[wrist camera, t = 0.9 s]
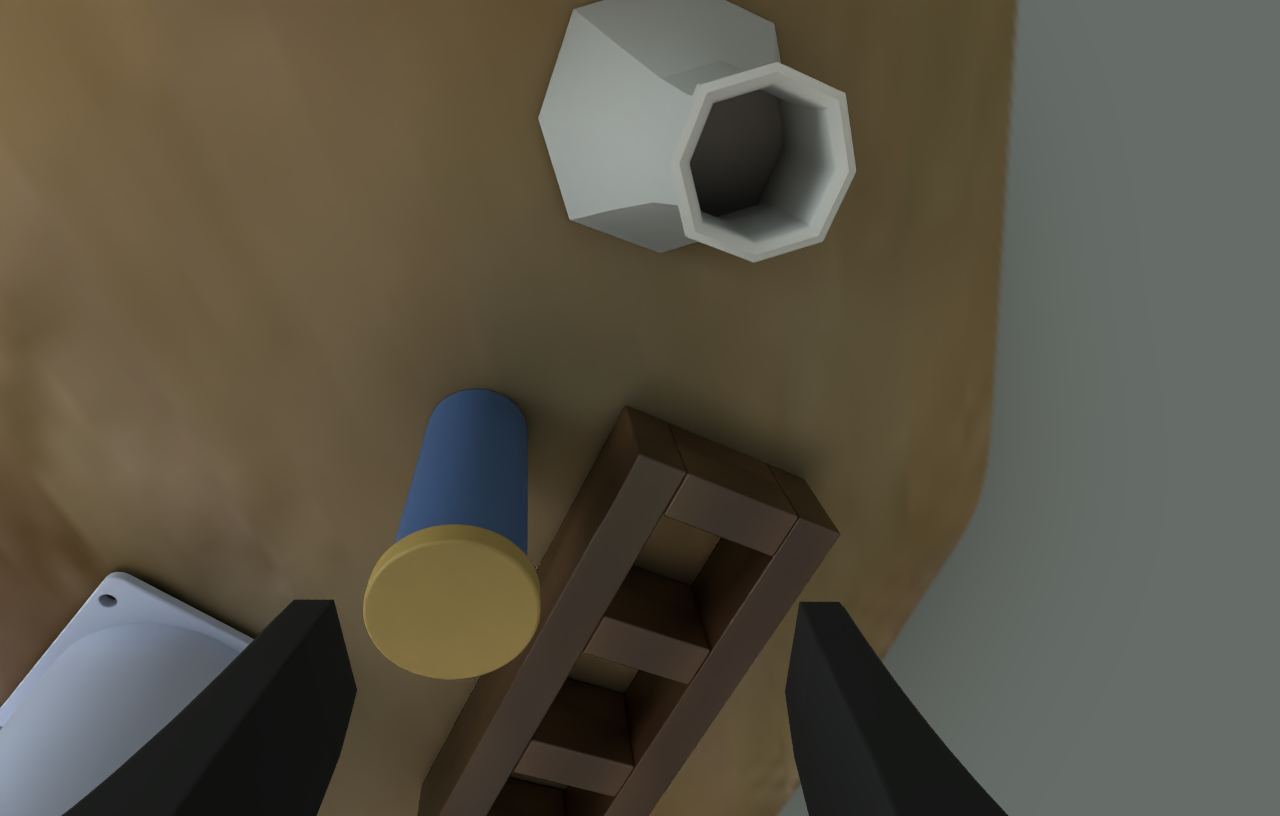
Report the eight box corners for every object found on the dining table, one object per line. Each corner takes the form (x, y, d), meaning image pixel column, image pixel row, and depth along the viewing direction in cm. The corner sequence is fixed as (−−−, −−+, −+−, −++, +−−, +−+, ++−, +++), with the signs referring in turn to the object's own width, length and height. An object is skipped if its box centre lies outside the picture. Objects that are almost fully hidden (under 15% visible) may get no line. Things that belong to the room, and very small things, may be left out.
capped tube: (487, 504, 26) (468, 705, 18) (392, 440, 25) (325, 628, 16) (560, 426, 25) (576, 600, 17) (467, 356, 24) (435, 509, 16)
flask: (773, 254, 24) (925, 372, 15) (537, 248, 23) (543, 370, 14) (807, -12, 21) (1023, -69, 12) (538, -32, 20) (546, -114, 11)
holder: (421, 786, 31) (408, 869, 28) (625, 404, 25) (639, 454, 22) (582, 823, 33) (588, 904, 30) (805, 479, 27) (841, 534, 24)
